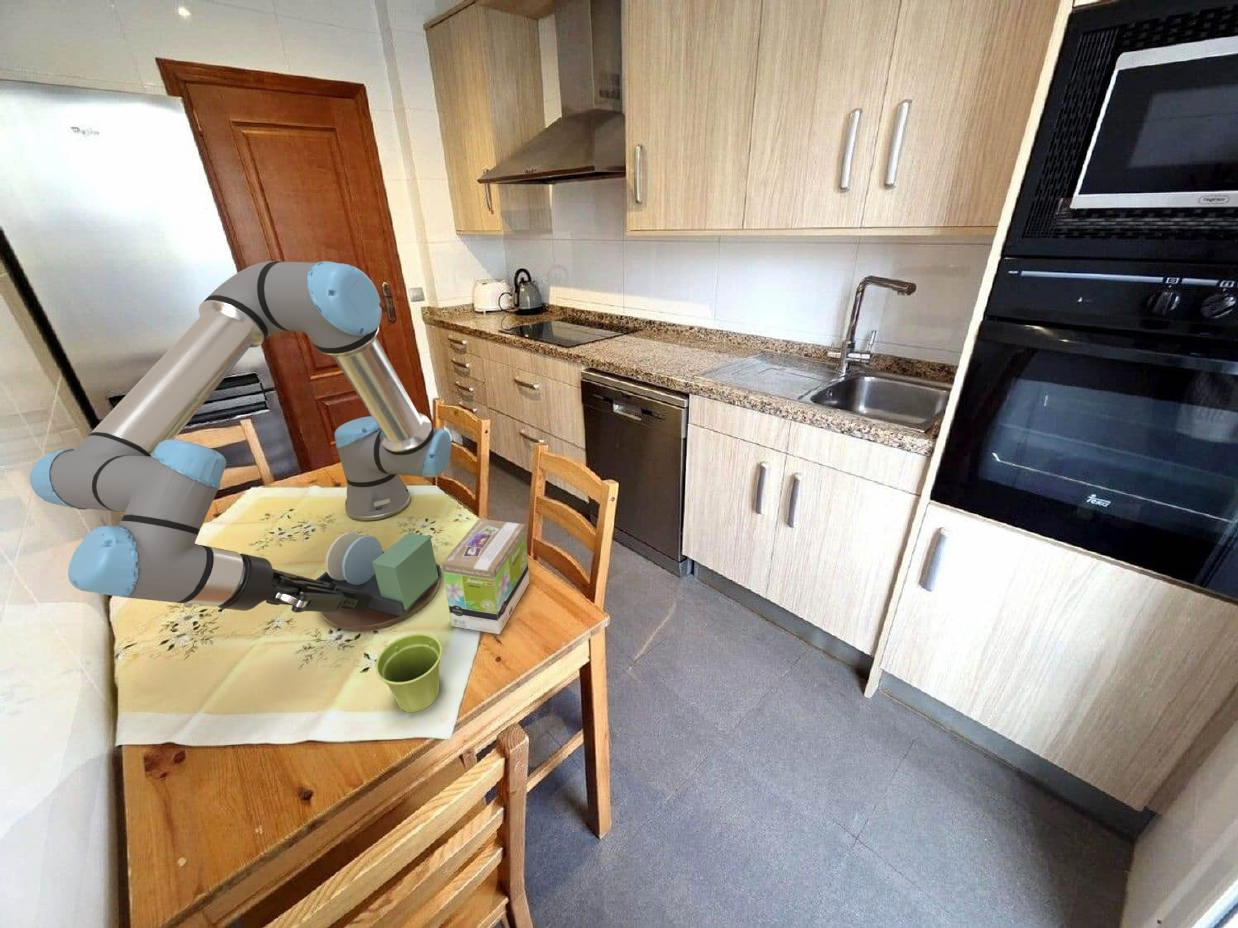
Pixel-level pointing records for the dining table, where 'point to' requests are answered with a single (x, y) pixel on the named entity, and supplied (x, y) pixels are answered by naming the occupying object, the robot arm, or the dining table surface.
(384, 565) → the dish rack
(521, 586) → the tea box
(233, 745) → the dining table surface
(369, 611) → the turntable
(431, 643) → the plant pot
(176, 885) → the dining table surface
